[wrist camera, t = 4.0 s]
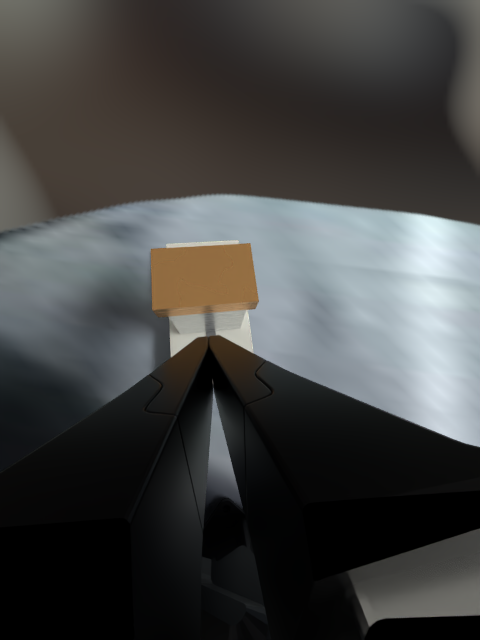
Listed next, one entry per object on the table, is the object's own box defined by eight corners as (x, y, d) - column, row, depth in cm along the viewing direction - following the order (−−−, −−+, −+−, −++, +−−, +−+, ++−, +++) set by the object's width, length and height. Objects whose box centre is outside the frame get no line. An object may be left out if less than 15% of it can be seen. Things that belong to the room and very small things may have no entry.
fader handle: (244, 332, 18) (258, 300, 12) (176, 339, 18) (152, 310, 11) (239, 292, 19) (250, 243, 13) (174, 297, 19) (151, 248, 12)
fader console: (254, 379, 19) (257, 378, 18) (175, 388, 18) (172, 388, 17) (237, 249, 22) (238, 239, 21) (169, 253, 22) (165, 243, 20)
